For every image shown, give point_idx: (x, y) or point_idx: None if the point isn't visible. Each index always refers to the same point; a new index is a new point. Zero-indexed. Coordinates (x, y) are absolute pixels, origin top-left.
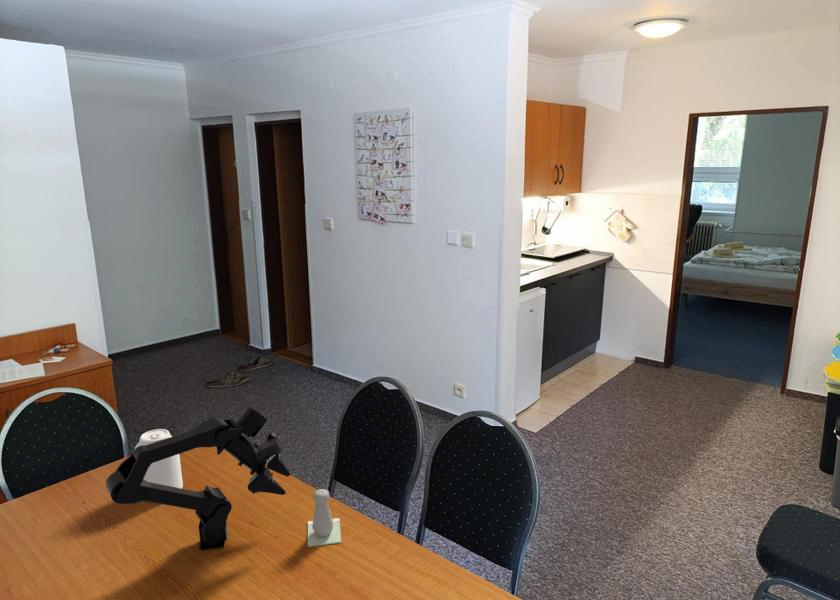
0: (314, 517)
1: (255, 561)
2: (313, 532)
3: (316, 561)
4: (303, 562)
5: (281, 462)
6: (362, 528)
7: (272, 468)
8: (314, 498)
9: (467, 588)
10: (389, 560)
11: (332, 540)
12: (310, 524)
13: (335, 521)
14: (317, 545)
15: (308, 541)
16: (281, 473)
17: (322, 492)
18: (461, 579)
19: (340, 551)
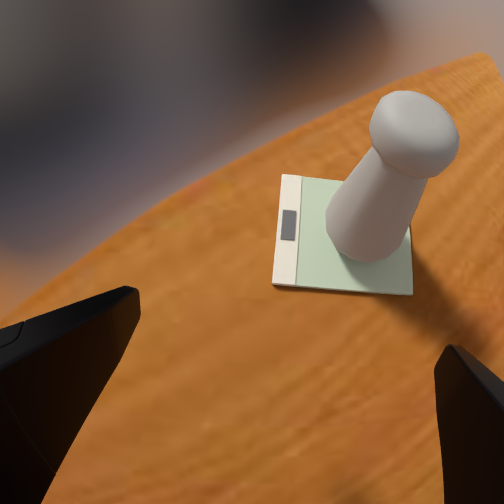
0: (393, 230)
1: (434, 465)
2: (345, 268)
3: (471, 272)
4: (471, 311)
5: (11, 348)
6: (342, 129)
7: (50, 460)
8: (442, 167)
9: (490, 64)
10: (457, 116)
11: None
12: (295, 274)
13: (299, 188)
14: (410, 262)
15: (393, 290)
16: (108, 372)
17: (430, 110)
18: (477, 60)
19: (437, 201)
